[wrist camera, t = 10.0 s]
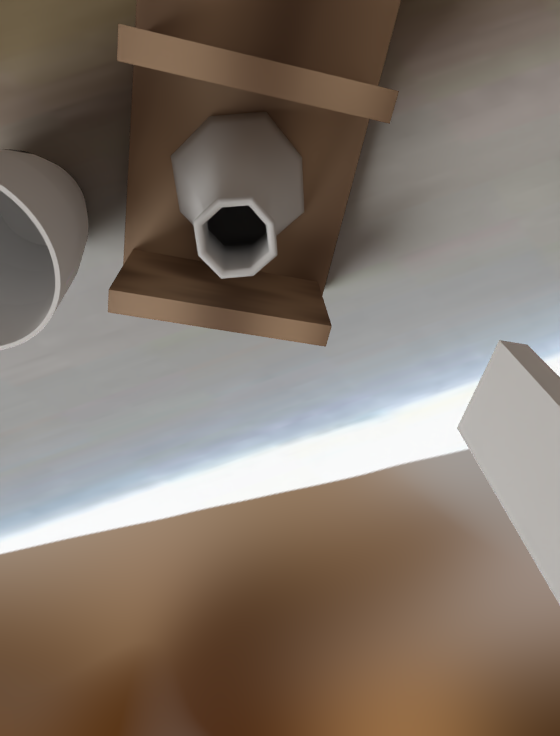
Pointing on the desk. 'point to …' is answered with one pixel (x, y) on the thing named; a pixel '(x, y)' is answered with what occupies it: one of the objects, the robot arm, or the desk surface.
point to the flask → (238, 190)
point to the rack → (237, 96)
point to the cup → (36, 242)
